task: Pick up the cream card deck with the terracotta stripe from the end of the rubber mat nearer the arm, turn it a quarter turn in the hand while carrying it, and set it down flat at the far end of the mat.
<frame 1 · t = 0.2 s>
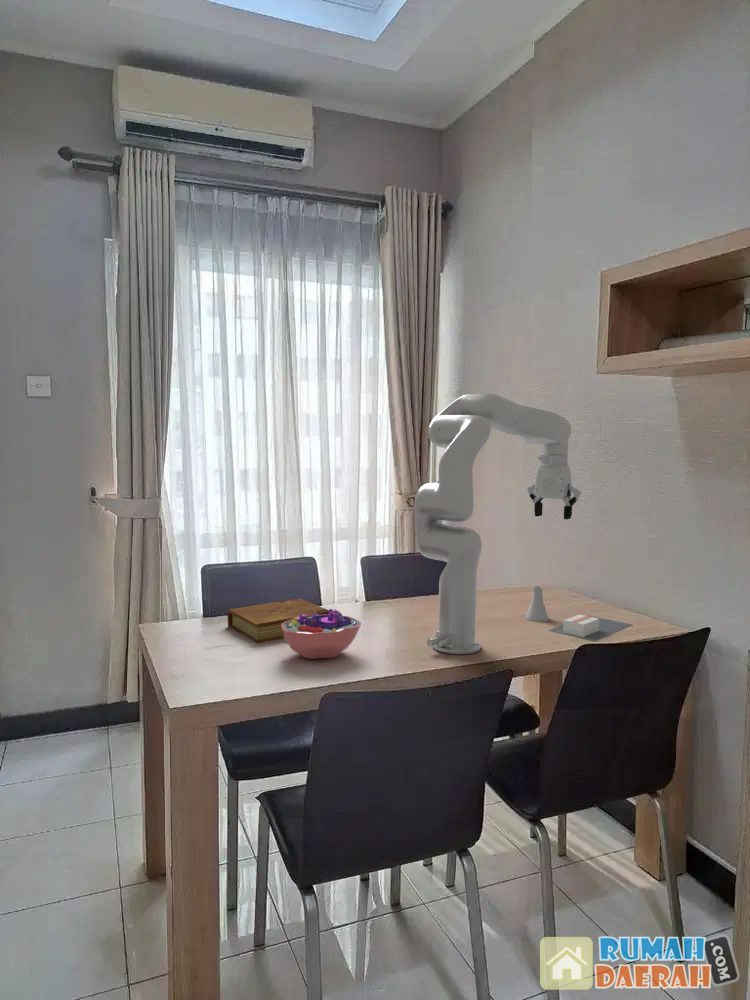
hand: (552, 517, 206), 31 cm above the table, tool pointing down, fingers open, 9 cm apart
card deck: (581, 631, 192), resting on mat
diary: (279, 630, 193), on the table
cell model: (320, 656, 170), on the table
flask: (536, 620, 206), on the table
mat: (591, 629, 196), on the table
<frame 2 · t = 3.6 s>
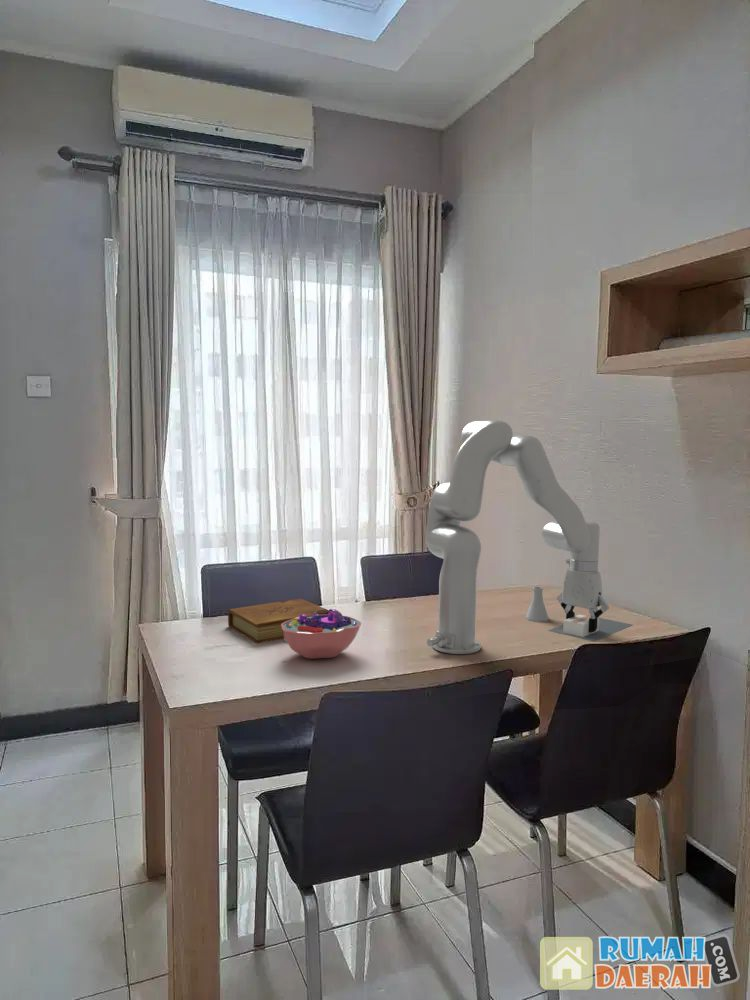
hand: (581, 628, 192), 1 cm above the table, tool pointing down, fingers closed on card deck, 6 cm apart
card deck: (581, 631, 192), point 1 cm above the table, touching gripper, mat
everything else where it was.
when the fingers open (3 cm above the table, at t = 9.5 s): card deck drops 1 cm, resting on mat.
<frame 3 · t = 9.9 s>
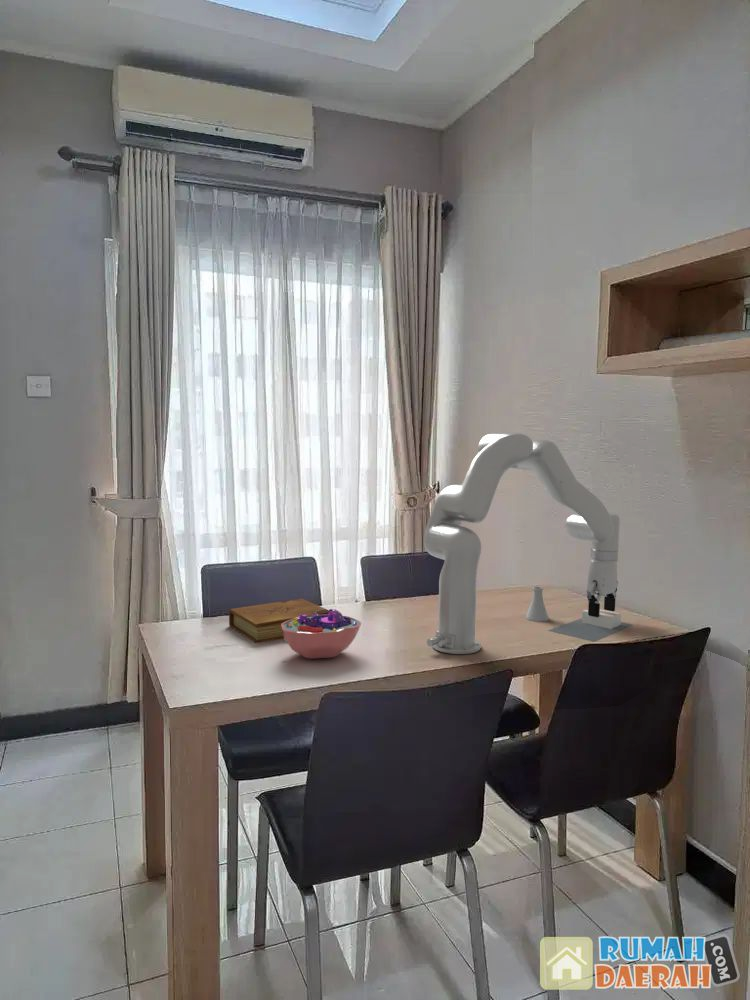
hand: (601, 613, 200), 4 cm above the table, tool pointing down, fingers open, 9 cm apart
card deck: (601, 623, 201), resting on mat
everything else where it was.
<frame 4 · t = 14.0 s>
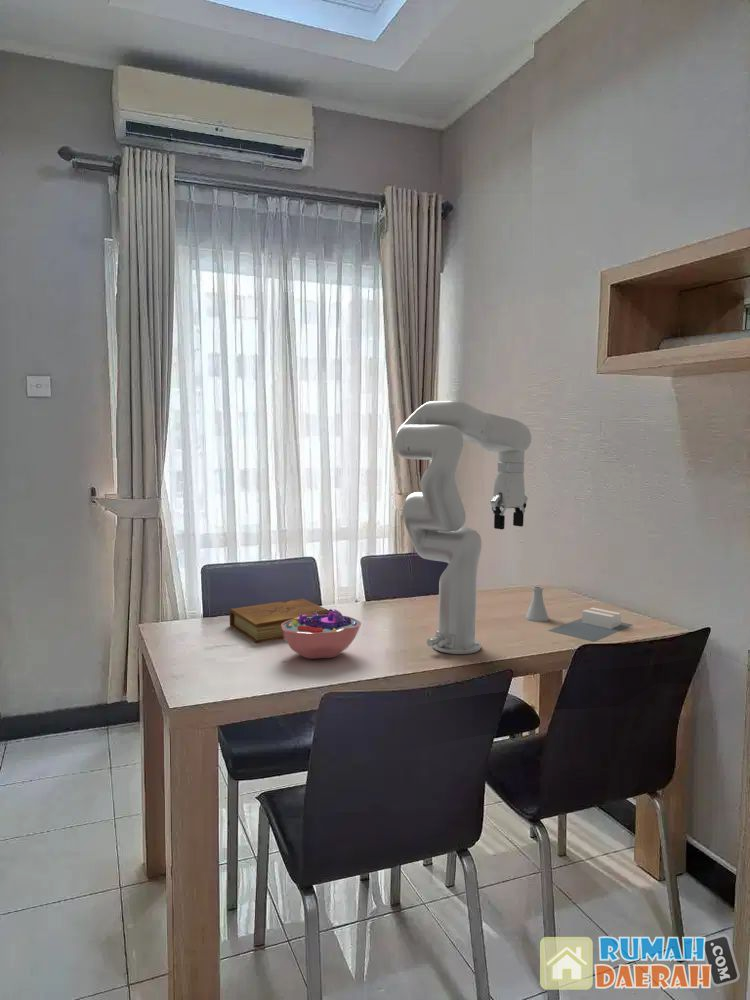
hand: (508, 527, 200), 28 cm above the table, tool pointing down, fingers open, 9 cm apart
nothing on the table moved.
at the end: card deck inside the target area on the mat (0.1 cm from its centre), point 0.5 cm above the mat's base; card deck tilted 0°; the gripper is holding nothing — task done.
